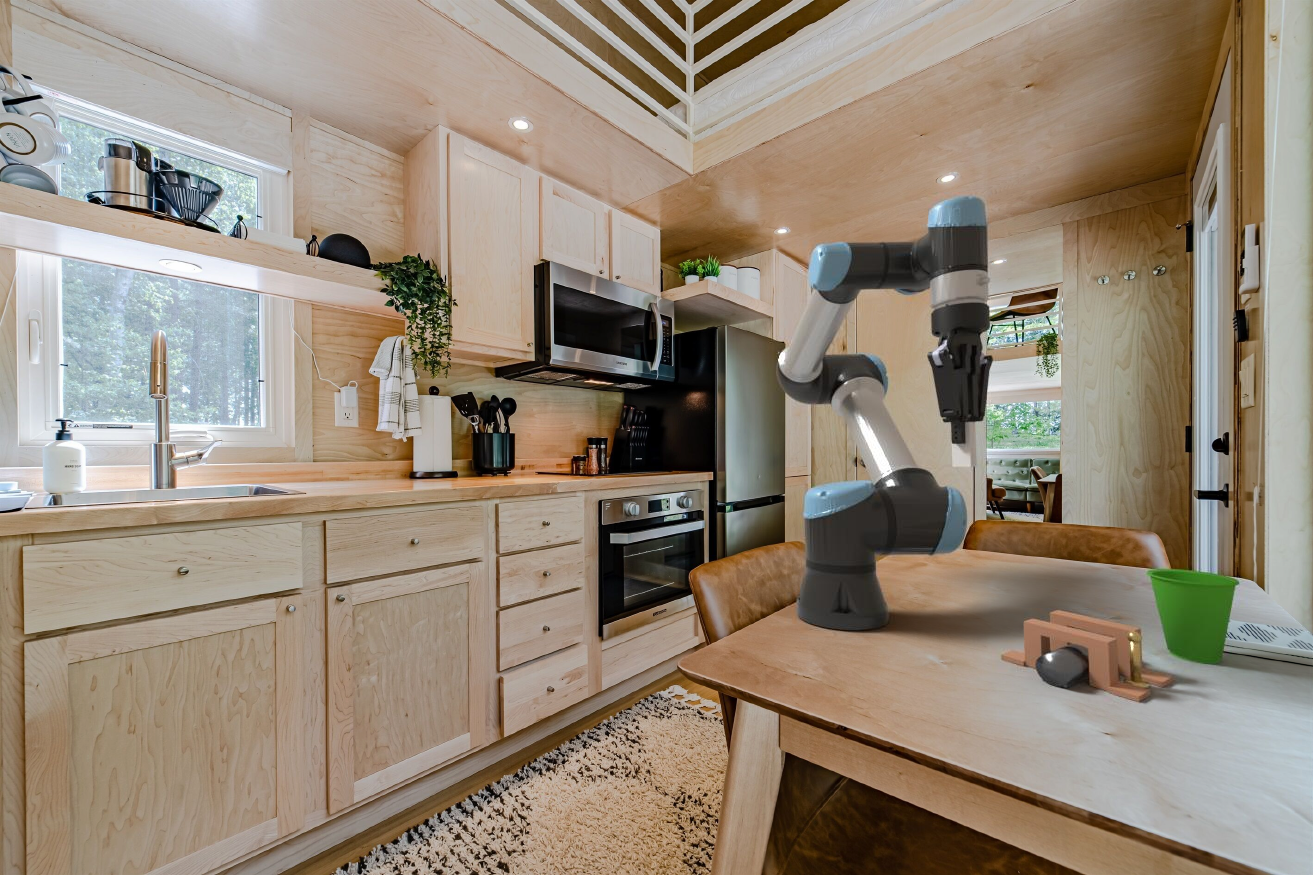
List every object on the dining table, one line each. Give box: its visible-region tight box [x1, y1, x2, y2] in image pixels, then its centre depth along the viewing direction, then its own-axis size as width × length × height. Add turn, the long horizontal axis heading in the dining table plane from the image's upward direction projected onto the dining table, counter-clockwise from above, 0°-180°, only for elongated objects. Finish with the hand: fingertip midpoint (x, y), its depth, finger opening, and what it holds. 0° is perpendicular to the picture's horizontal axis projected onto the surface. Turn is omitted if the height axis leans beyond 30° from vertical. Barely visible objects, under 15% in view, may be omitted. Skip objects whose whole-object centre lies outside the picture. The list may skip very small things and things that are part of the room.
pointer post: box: [1122, 631, 1151, 690], centre depth 65 cm, size 2×2×6 cm
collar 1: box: [1000, 618, 1151, 703], centre depth 68 cm, size 15×3×6 cm, turn 30°
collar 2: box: [1049, 609, 1174, 688], centre depth 72 cm, size 15×3×6 cm, turn 30°
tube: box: [1035, 632, 1114, 689], centre depth 69 cm, size 16×4×4 cm, turn 120°
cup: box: [1146, 568, 1240, 665], centre depth 74 cm, size 9×9×11 cm
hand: (964, 466), depth 79 cm, fingers closed
